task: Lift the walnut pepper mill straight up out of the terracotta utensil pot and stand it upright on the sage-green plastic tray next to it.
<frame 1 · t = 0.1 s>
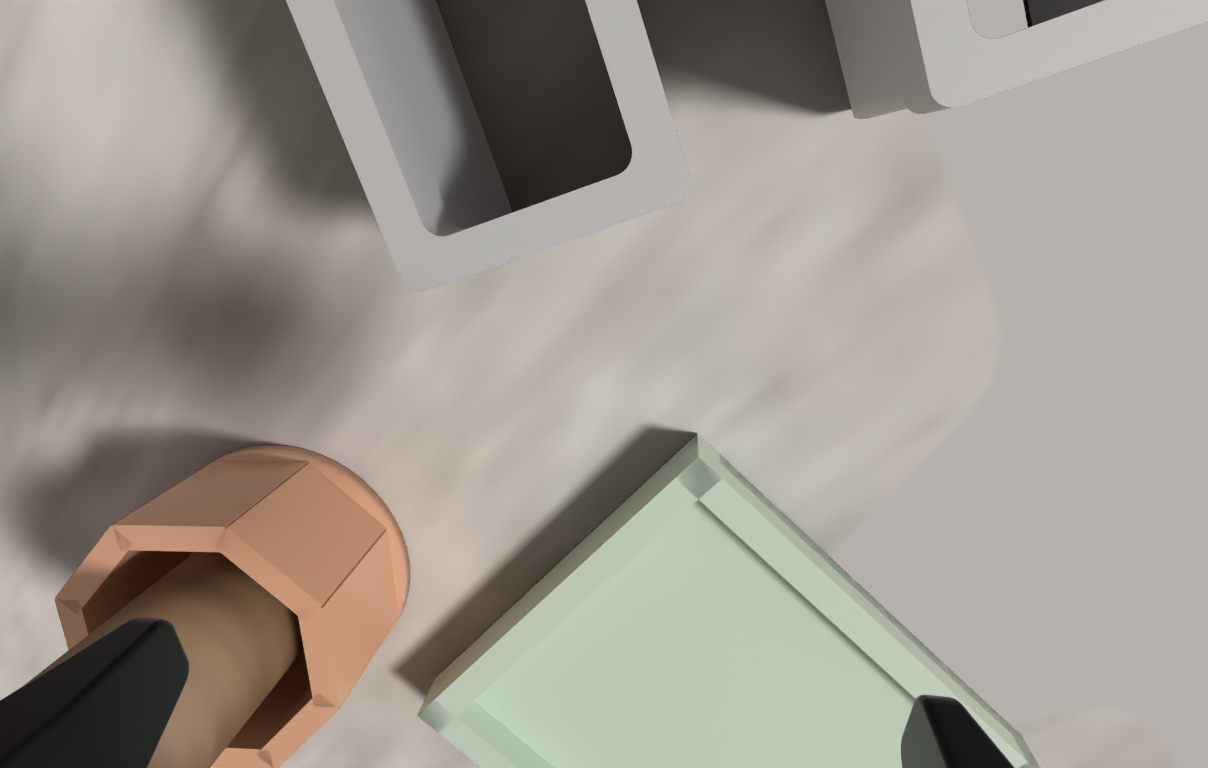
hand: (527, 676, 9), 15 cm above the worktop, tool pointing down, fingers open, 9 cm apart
pepper mill: (280, 570, 26), point 1 cm above the worktop, touching utensil pot
utensil pot: (291, 559, 27), on the worktop
tray: (717, 705, 27), on the worktop
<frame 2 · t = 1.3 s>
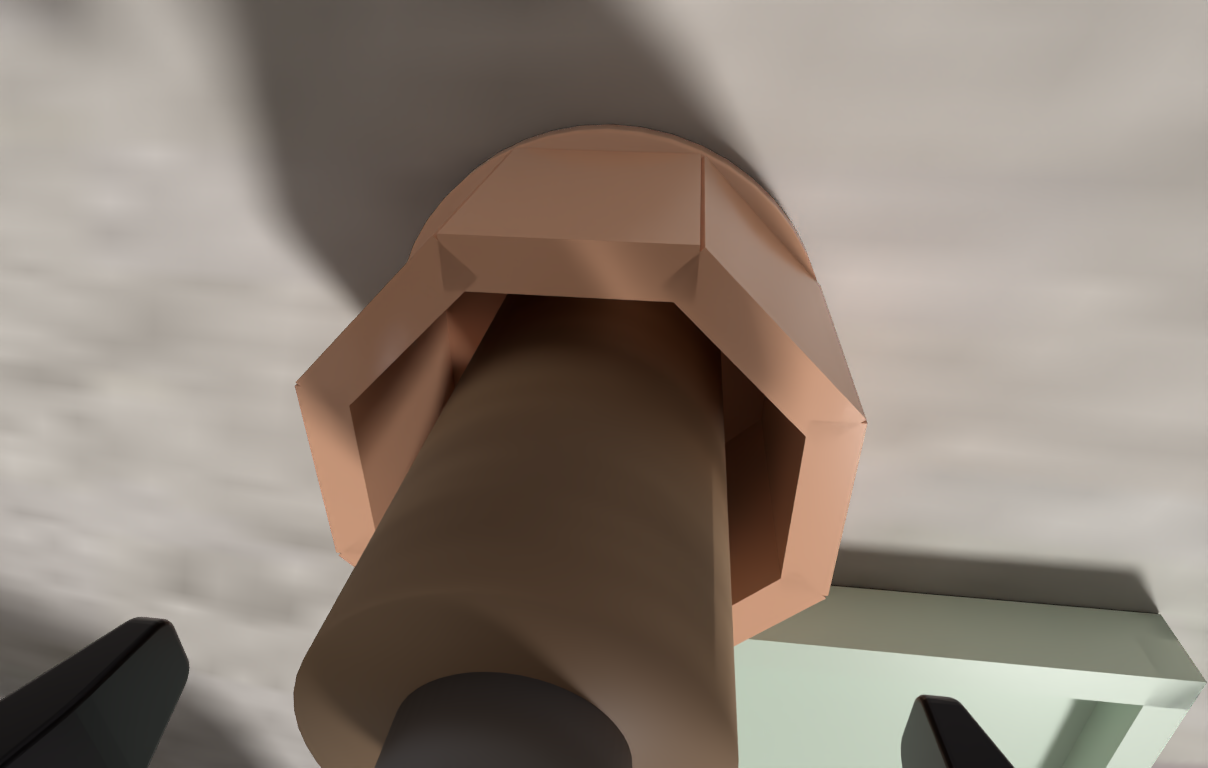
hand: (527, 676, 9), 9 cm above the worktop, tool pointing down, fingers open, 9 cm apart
pepper mill: (606, 353, 16), point 1 cm above the worktop, touching utensil pot
utensil pot: (610, 335, 16), on the worktop
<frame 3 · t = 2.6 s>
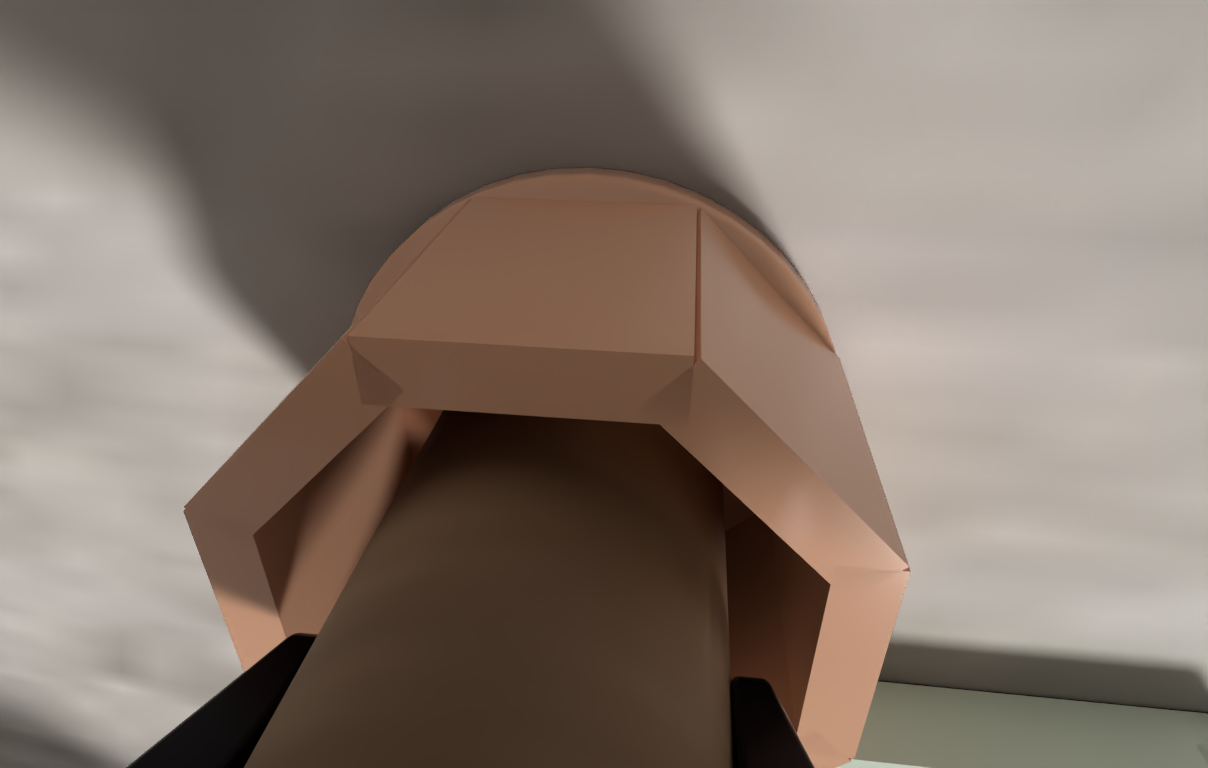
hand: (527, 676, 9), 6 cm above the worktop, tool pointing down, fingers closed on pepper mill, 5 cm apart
pepper mill: (586, 430, 13), point 1 cm above the worktop, touching gripper, utensil pot
utensil pot: (591, 406, 14), on the worktop
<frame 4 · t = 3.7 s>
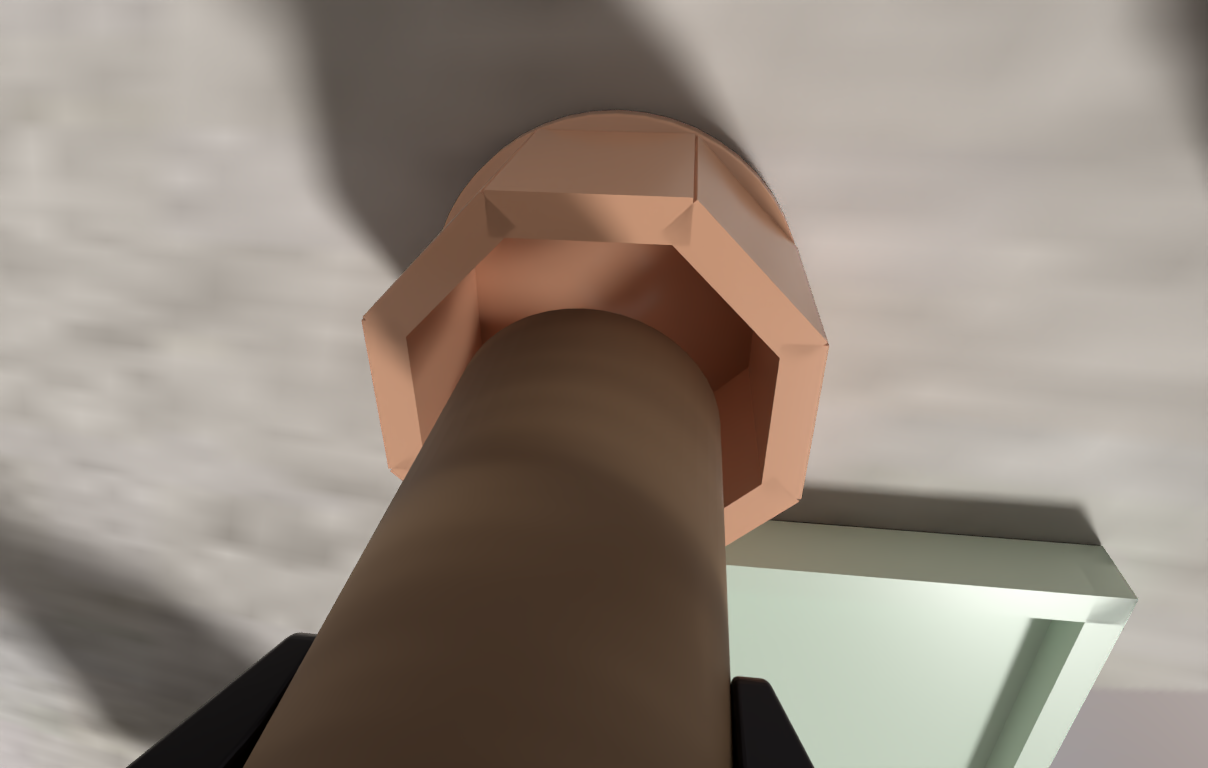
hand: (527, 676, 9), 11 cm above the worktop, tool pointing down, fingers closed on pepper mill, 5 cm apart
pepper mill: (586, 429, 13), point 6 cm above the worktop, touching gripper
utensil pot: (617, 295, 19), on the worktop
tray: (810, 700, 26), on the worktop
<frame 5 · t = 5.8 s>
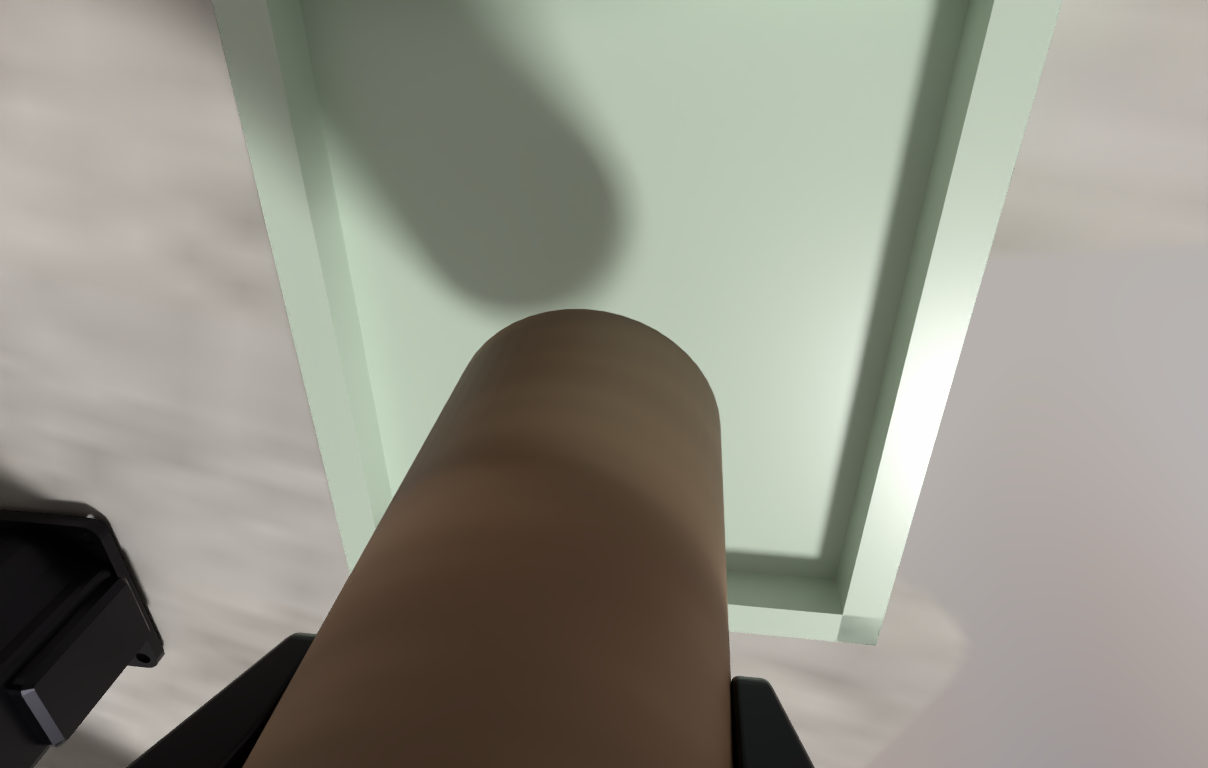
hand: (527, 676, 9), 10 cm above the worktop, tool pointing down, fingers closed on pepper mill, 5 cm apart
pepper mill: (585, 430, 13), point 5 cm above the worktop, touching gripper
tray: (617, 316, 17), on the worktop
when the fingers open (7 cm above the worktop, at t = 7.1 s): pepper mill drops 1 cm, resting on tray.
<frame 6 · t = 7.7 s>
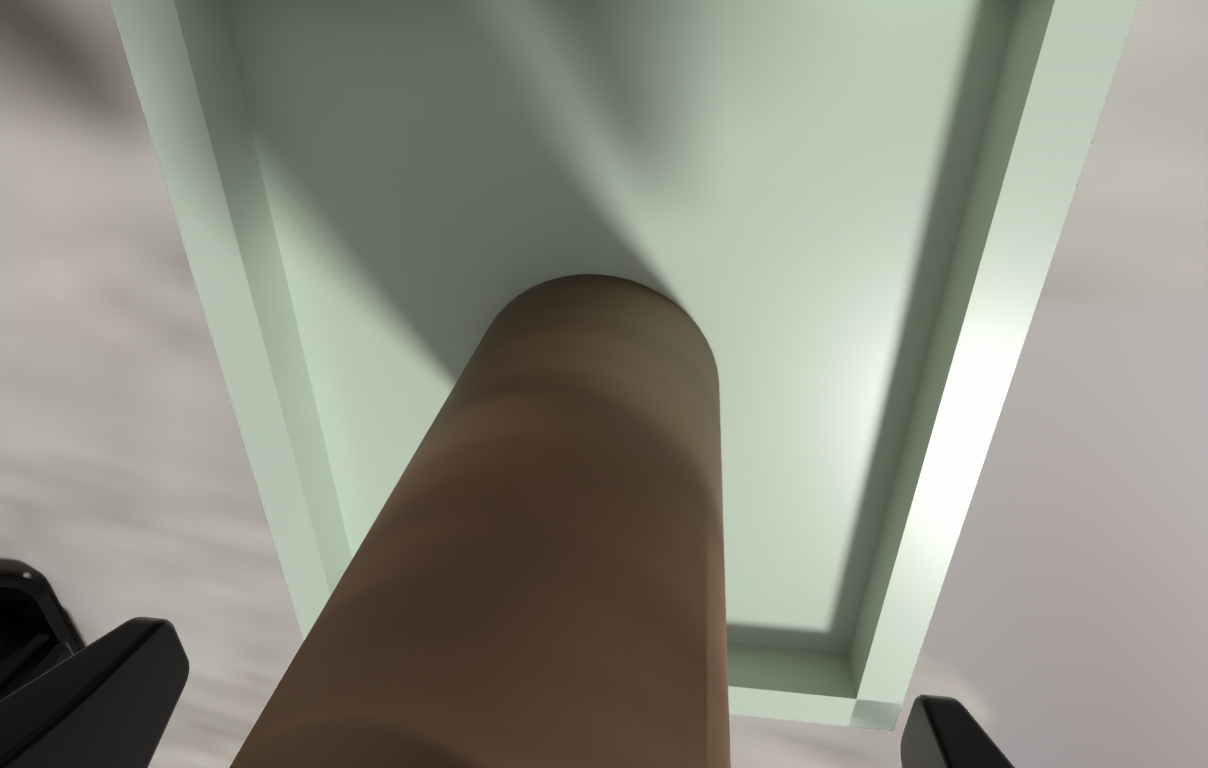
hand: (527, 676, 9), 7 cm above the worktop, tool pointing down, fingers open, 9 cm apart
pepper mill: (596, 388, 14), point 1 cm above the worktop, touching tray
tray: (602, 368, 15), on the worktop
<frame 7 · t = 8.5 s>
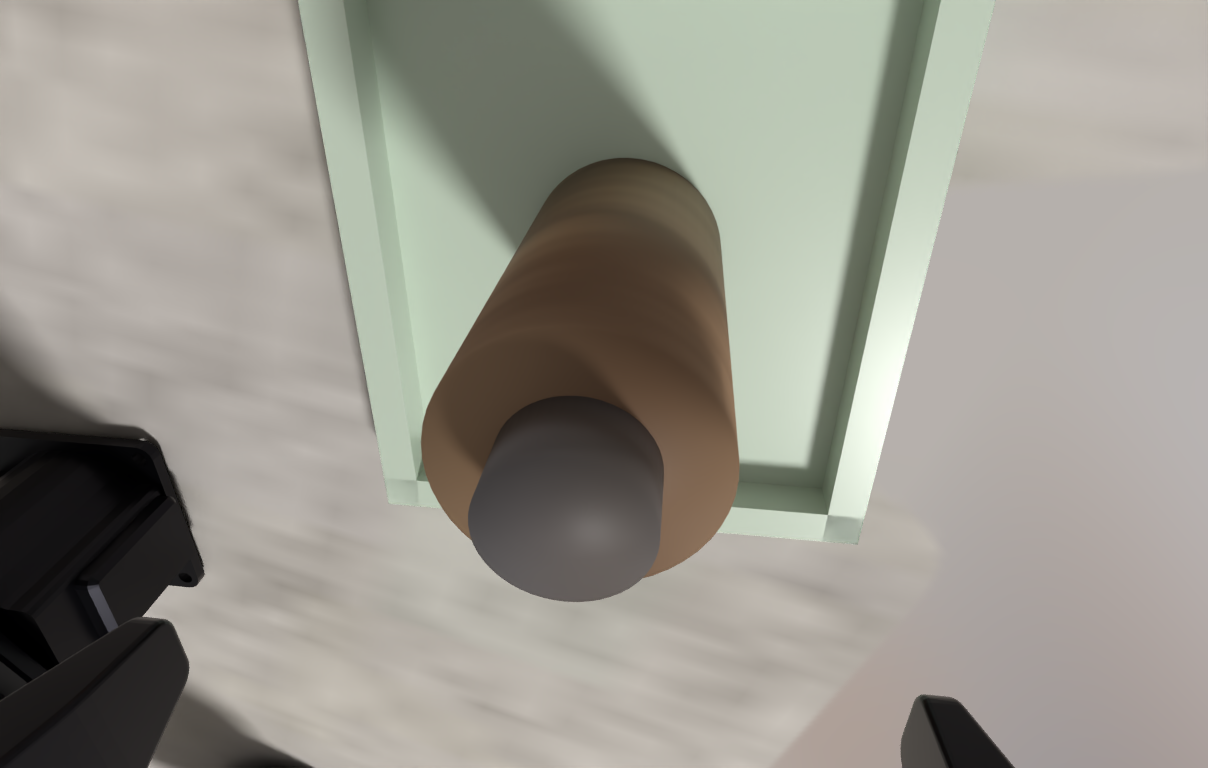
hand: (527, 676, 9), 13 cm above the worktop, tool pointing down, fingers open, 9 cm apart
pepper mill: (625, 253, 19), point 1 cm above the worktop, touching tray
tray: (629, 243, 19), on the worktop
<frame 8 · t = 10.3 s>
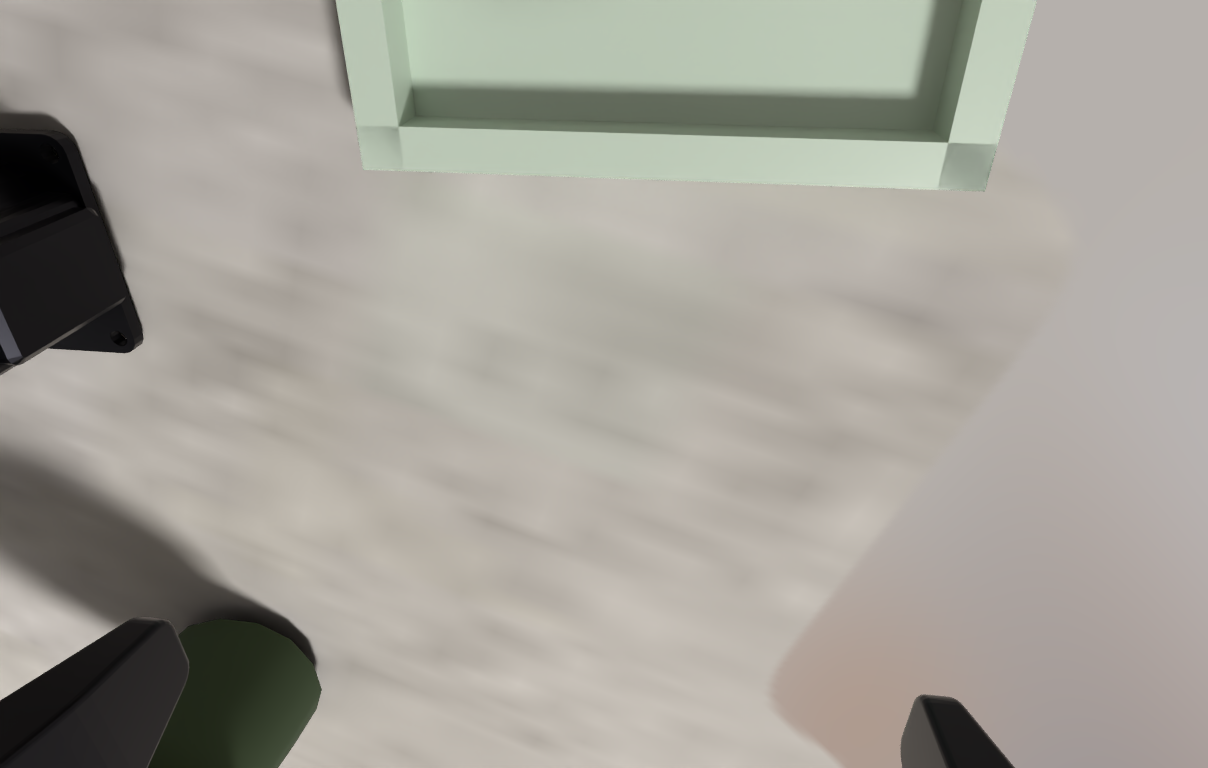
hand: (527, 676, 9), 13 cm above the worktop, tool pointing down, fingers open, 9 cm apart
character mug: (259, 653, 31), on the worktop
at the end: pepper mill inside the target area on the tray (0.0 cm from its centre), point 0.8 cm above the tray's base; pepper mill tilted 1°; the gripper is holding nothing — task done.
